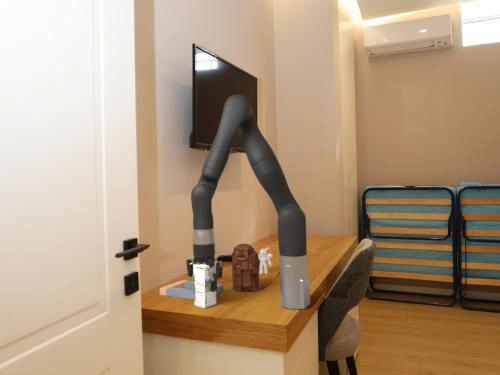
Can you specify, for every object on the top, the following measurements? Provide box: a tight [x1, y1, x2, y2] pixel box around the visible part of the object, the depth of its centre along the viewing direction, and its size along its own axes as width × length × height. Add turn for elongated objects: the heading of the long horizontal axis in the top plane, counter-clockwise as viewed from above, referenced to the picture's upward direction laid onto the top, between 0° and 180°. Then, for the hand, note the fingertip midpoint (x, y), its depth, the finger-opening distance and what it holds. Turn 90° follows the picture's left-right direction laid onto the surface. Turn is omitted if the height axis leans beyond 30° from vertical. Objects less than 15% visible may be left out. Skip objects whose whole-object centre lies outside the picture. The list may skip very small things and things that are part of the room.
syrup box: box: [192, 264, 218, 309], centre depth 136 cm, size 6×6×14 cm
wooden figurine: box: [231, 243, 260, 292], centre depth 155 cm, size 12×6×18 cm, turn 73°
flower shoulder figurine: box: [258, 247, 274, 275], centre depth 182 cm, size 9×4×12 cm, turn 74°
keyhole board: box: [159, 279, 224, 300], centre depth 152 cm, size 20×14×2 cm
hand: (205, 290), depth 136 cm, fingers closed on syrup box, 6 cm apart
